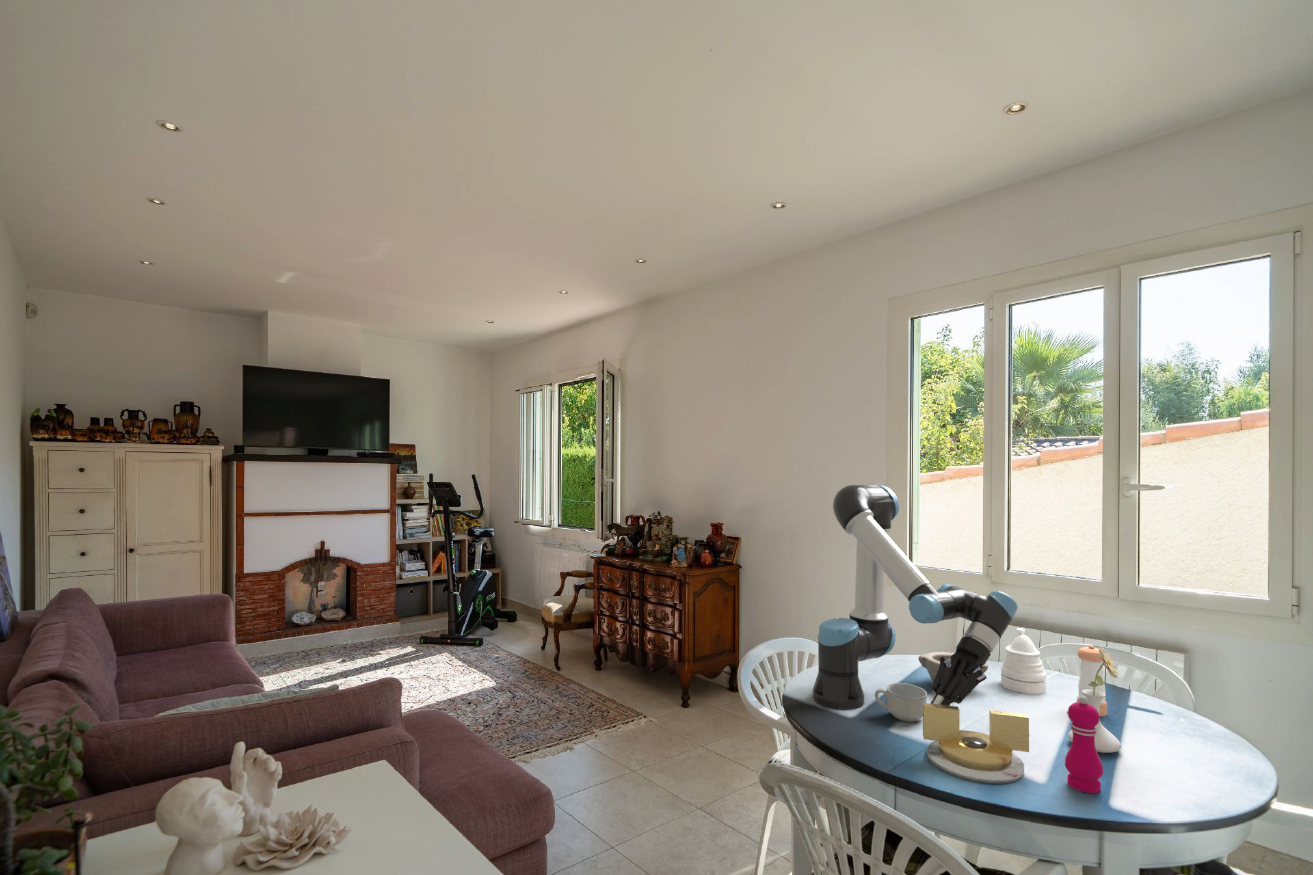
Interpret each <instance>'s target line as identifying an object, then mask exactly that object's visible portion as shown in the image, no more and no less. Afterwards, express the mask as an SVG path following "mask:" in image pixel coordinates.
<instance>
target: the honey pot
mask: <svg viewBox="0 0 1313 875" xmlns="http://www.w3.org/2000/svg"><path fill="white" fill-rule="evenodd" d="M1015 630H1016V633H1017V634H1018V636H1016V637H1015V639H1013V641H1012V642H1011V645H1007V646H1005V647H1004V650H1005V652H1007V653H1006V655H1005V657H1004V661H1003V664H1002V665H1001V668H1000V672H1001V673H1000V684H1001V686H1002V687H1003V688H1005V689H1007V690H1010V691H1013V692H1018V693H1021V694H1030V695H1032V694H1033V695H1038V694H1039V695H1040V694H1045V693H1046V692H1047V672H1046V671H1045V668H1044V667H1045V666H1043V665H1044V664H1043V661H1042V660H1041V652H1040V650H1038V649H1037V648H1036V645H1035V644H1034V642H1033V641H1032V640H1031V638H1030V637H1029V636H1028V635H1025V633H1026V629H1025V628H1021V627H1020V628H1019V627H1017V628H1016V629H1015Z"/></svg>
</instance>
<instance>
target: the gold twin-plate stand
mask: <svg viewBox="0 0 1313 875" xmlns="http://www.w3.org/2000/svg"><path fill="white" fill-rule="evenodd" d="M988 718H989V734H986V733H984V732H979V731H978V732H977V731H973V730H965V729H964V730H963V729H962V730H961V729H960V708H959V706H955V705H950V706H948V705H938V704H930V703H928V702H926V703H923V717H922V737H923V740H924V741H925V740H927V741H932V742H933V741H939V751H940V753H941V754H942V755H943V756H945V757H946V758H948V759H949V760H951V761H954V762H956V763H959V764H961V765H965V766H968V767H973V768H978V769H988V770H996V769H1003V768H1007V767H1009V766H1010V765H1011V764H1012V753H1013V751H1015V752H1025V753H1030V717H1029V716H1028V714H1027V713H1022V712H1021V713H1020V712H1014V711H1012V712H1011V711H1002V710H993V709H989V717H988Z"/></svg>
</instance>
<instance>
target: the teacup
mask: <svg viewBox="0 0 1313 875" xmlns="http://www.w3.org/2000/svg"><path fill="white" fill-rule="evenodd" d="M881 693H883V694H884V696H885V698H886V702H884V701H882V700H881V699H880V698H879V694H881ZM927 696H928V692H927V691H926V690H925V689H924V688H922V687H920V686H917V685H914V684H911V683H905V682H896V683H895V682H894V683H890V684H888V685H887V686H886V689H884V688H878V689H876V690H875V692H874V699H875V701H876V702H877V703H878V704H879V705H880V706H882V707H883V708H884V709H885V710H886V711H888V712H889V713H890V714H891V715H892V716H893V717H894V718H895V719H897V720H899V721H902V722H907V723H908V722H909V723H910V722H911V723H914V722H918V721H919V720H920V719H923V703H927Z"/></svg>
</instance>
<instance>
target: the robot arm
mask: <svg viewBox="0 0 1313 875" xmlns="http://www.w3.org/2000/svg"><path fill="white" fill-rule="evenodd" d="M832 509H833V514H834V516H835V518H836V520H837V522H838V523H839V525H840V526H841V527H842V529H843V530H844V531H845V533H847V534H848V535H853V537H854V538H855V539H856V552H855V553H856V556H855V557H856V559H855V560H856V561H855V588H854V589H855V591H854V597H855V598H854V608H853V609H852V610H851V611H850V612H849V618H845V617H838V618H830V619H827V620H824V621H823V622H821V623H820V624H819V626H818V636H817V640H818V645H817V646H818V650H817V653H818V658H817V659H818V660H817V661H818V669H817V670H818V671H817V676H816V679H815V682H814V684H813V688H812V691H811V694H812V695H811V696H812V697H811V698H812V700H813V699H814V700H813V701H814V702H815V701H816V702H815V703H817V704H818V705H821V706H824V707H827V708H831V709H838V708H841V709H840V710H851V709H850V708H854V709H858V708H861V707H862V706H863V704H864V705H865V693H864V689H863V686H862V684H861V681H860V678H859V662H864V661H866V660H867V661H868V660H872V659H879V658H881V657H883V656H886V655H887V654H889V653H890V652H891V651H892V650H893V648H894V646H895V643H896V630H895V628H894V627H892V626H893V625H892V623H891V622H890V620H889V614H887V613H886V611H885V610H884V606H885V604H884V599H885V575H886V576H887V577H888V578H889V579H890V580H891V582H893V584H894V586H896V587H897V589H898V591H900V592H901V593H902V595H903V596H904V597H905V599H907V601H908V610H909V612H910V616H911V617H912V618H913V620H915V621H916V622H918V623H919V624H926V625H927V624H935V623H938V622H943V621H947V620H952V619H953V620H954V619H957V618H962V619H965V620H967V621H970V622H971V623H970V625H969V626H968V627H967V629H966V631H965V632H964V634H963V635H964V636H961V638H960V640H959V641H958V643H957V645H956V647H955V648H956V649H955V652H954V654H953V655H952V656H951V658H947V659H945V658H944V657H941V658H940V666H939V669H938V672H937V674H936V677H935V680H934V682H933V683H932V686H931V690H932V691H933V692H934V693H935V695H934V697H933V699H932V700H931V702H930V703H929V704H938V705H948V706H951V704H953V703H956V704H958V705H960V704H961V703H962V702H963V700H965V699H966V698H967V697H968V696H969V695H970V694H971V692H972V691H973V690H974V689H975V688H976V687H977V686H978V685H979V684H981V683H982V682H984V681H985V680H987V675H986V674H985V673H983V672H982V671H981V669H982V666H983V665H985V663H986V664H987V662H988V660H989V659H990V657H991V653H992V652H994V649H995V648H996V647H997V645H998V644H999V641H1000V640H1001V638H1002V636H1003V635H1004V633H1005V631H1006V630H1007V628H1008V626H1009V625H1010V623H1011V622H1013V620H1014V617H1015V615H1016V613H1017V611H1018V609H1019V606H1018V603H1017V601H1016V600H1015V599H1014V598H1013V597H1012V596H1010V595H1008V593H1005V592H1003V591H1000V590H992V591H991V592H990V593H989V594H988V595H987V596H985V595H981V594H980V593H979V594H978V593H976V592H973V591H970V590H968V589H964V588H962V587H960V586H958V585H953V584H950V583H945V584H942V585H941V586H940V587H938V589H936V588H935V586H933V585H932V584H931V583H930V581H929V580H928V579H927V578H926V577H925V575H924V574H923V573H922V572H921V570H919V569H918V568H917V566H916V565H914V563H913V562H912V561H911V560H910V559H909V557H908V556H907V555H906V554H905V553H904V552H903V551H902V550H901V548H900V547H899V546H898V545H897V544H896V543H895V542H894V540H893V539H892V538H891V537H890V536H889V535H888V532H890V530H891V529H892V521H893V520H894V519H895V518H896V517H897V516H898V514H899V511H900V503H899V498H898V497H897V495H896V493H895V492H894V491H893V490H892V489H891V488H890V487H889V486H886V485H884V484H877V483H876V484H875V483H873V484H872V483H871V484H870V483H869V484H851V485H850V484H849V485H846V486H844V487H842V488H841V489H840V490H838V491H837V492H836V495H835V496H834V499H833V503H832ZM860 706H861V707H860Z"/></svg>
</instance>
